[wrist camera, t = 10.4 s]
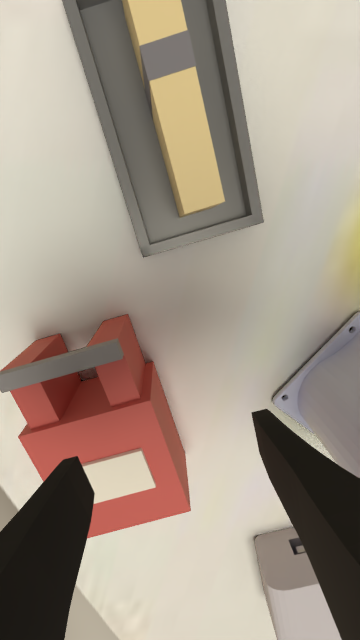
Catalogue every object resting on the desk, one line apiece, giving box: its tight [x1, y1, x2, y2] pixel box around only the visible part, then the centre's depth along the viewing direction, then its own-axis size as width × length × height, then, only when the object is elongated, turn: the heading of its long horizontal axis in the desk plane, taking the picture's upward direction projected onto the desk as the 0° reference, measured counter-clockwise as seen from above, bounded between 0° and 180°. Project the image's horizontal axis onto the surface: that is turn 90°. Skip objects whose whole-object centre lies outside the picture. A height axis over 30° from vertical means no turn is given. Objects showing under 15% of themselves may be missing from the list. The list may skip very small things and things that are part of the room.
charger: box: [255, 527, 342, 640], centre depth 27 cm, size 5×9×15 cm
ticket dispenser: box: [0, 314, 191, 538], centre depth 19 cm, size 13×8×5 cm, turn 16°
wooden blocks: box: [122, 0, 225, 218], centre depth 14 cm, size 10×2×4 cm, turn 16°
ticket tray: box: [62, 0, 264, 258], centre depth 15 cm, size 13×8×2 cm, turn 16°
